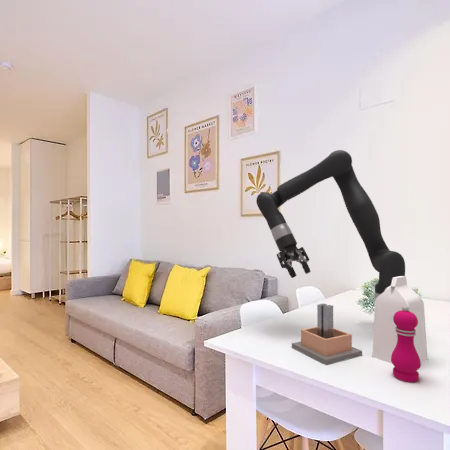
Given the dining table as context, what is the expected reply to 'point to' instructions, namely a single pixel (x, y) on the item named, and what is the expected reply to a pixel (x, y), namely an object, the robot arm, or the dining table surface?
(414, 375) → the pepper mill
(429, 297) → the dining table surface
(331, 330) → the twin upright plate stand
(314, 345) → the holder
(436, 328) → the dining table surface
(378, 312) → the milk
